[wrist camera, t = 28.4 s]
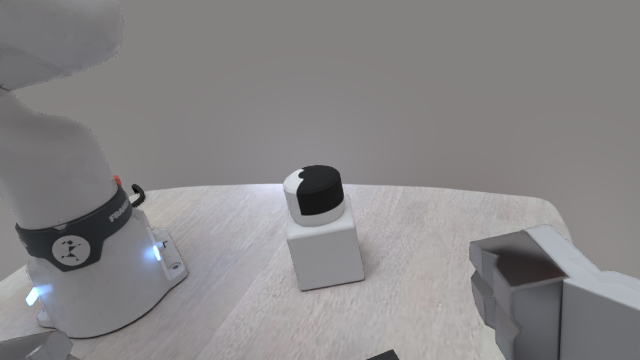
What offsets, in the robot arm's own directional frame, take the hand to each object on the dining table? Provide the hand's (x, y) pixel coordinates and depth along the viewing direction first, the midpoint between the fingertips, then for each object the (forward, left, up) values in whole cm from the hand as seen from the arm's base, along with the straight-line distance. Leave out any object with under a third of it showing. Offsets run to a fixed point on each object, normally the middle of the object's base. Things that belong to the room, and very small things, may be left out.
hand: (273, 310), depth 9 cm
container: (-38, +9, -28) cm, 48 cm away
